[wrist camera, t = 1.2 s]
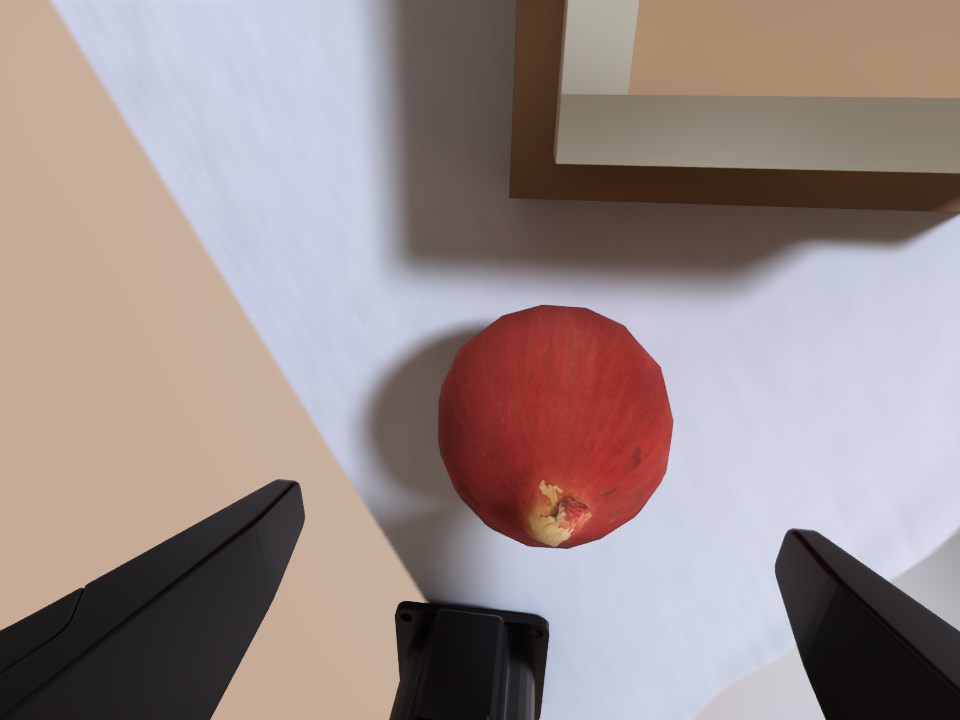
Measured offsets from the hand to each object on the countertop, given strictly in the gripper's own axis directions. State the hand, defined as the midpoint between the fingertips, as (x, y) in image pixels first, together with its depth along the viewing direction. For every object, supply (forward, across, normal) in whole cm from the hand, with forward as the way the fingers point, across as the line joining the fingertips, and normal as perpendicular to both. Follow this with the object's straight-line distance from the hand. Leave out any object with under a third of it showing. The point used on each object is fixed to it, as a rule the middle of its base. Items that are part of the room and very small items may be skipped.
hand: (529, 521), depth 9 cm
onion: (+8, 0, 0) cm, 8 cm away
